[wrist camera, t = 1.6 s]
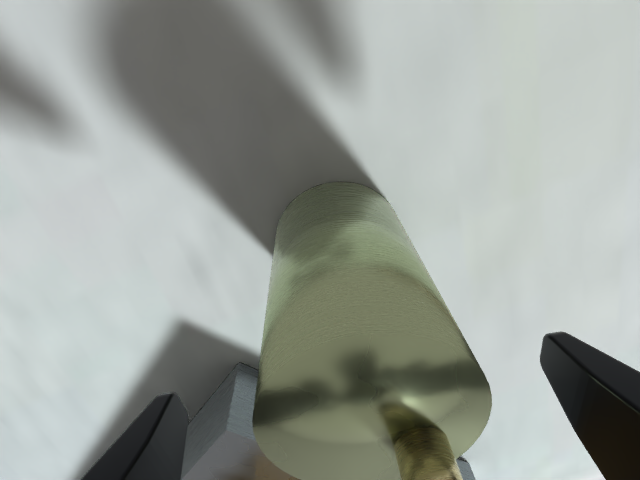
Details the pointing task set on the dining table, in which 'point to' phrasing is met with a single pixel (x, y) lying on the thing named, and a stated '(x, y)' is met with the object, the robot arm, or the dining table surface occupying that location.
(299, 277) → the spout can
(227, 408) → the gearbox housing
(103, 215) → the dining table surface
